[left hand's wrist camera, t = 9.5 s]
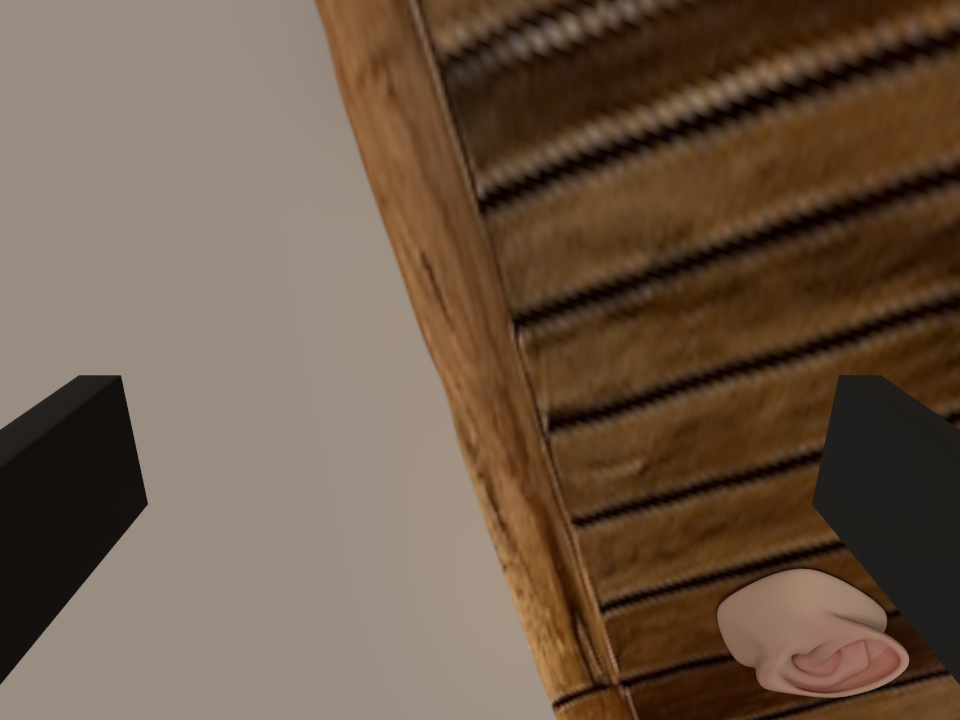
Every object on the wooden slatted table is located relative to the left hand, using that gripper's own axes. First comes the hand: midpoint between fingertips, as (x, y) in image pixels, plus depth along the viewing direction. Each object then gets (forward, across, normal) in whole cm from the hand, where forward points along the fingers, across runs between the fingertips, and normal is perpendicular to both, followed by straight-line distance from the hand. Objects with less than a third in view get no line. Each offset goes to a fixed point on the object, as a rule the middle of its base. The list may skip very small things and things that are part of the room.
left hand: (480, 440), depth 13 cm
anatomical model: (+33, +26, -35) cm, 55 cm away
